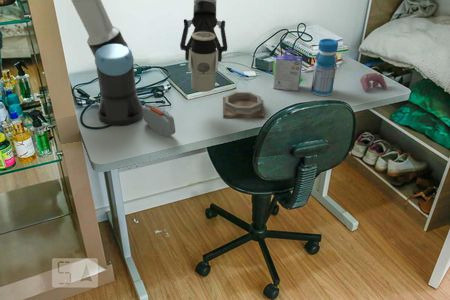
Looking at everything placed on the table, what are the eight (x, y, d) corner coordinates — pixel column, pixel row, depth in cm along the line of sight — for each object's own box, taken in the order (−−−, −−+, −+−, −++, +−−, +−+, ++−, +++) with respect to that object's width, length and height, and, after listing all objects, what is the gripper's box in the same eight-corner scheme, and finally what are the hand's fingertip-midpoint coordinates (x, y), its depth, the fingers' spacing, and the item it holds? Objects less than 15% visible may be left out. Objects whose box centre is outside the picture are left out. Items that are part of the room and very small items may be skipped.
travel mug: (195, 81, 154) (194, 30, 144) (217, 84, 152) (218, 32, 143) (188, 91, 147) (188, 37, 137) (212, 93, 146) (213, 40, 136)
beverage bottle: (318, 98, 166) (325, 46, 155) (306, 89, 173) (312, 39, 162) (337, 94, 169) (345, 43, 158) (324, 85, 175) (331, 36, 165)
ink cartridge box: (299, 85, 175) (303, 50, 167) (298, 91, 171) (302, 55, 163) (274, 83, 177) (277, 48, 169) (273, 89, 172) (276, 53, 165)
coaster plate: (223, 117, 153) (223, 108, 151) (222, 99, 164) (223, 90, 162) (263, 117, 153) (264, 108, 151) (260, 99, 164) (261, 91, 163)
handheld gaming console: (176, 137, 141) (175, 115, 137) (169, 140, 140) (168, 118, 135) (149, 121, 150) (147, 100, 145) (141, 124, 148) (139, 102, 144)
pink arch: (380, 89, 177) (379, 71, 176) (388, 89, 173) (386, 71, 172) (359, 92, 174) (357, 74, 173) (366, 92, 170) (364, 74, 169)
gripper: (235, 12, 151) (234, 75, 147) (174, 10, 151) (171, 73, 146) (236, 0, 144) (236, 66, 139) (172, -2, 143) (169, 64, 139)
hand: (203, 70), depth 143 cm, fingers closed on travel mug, 8 cm apart
